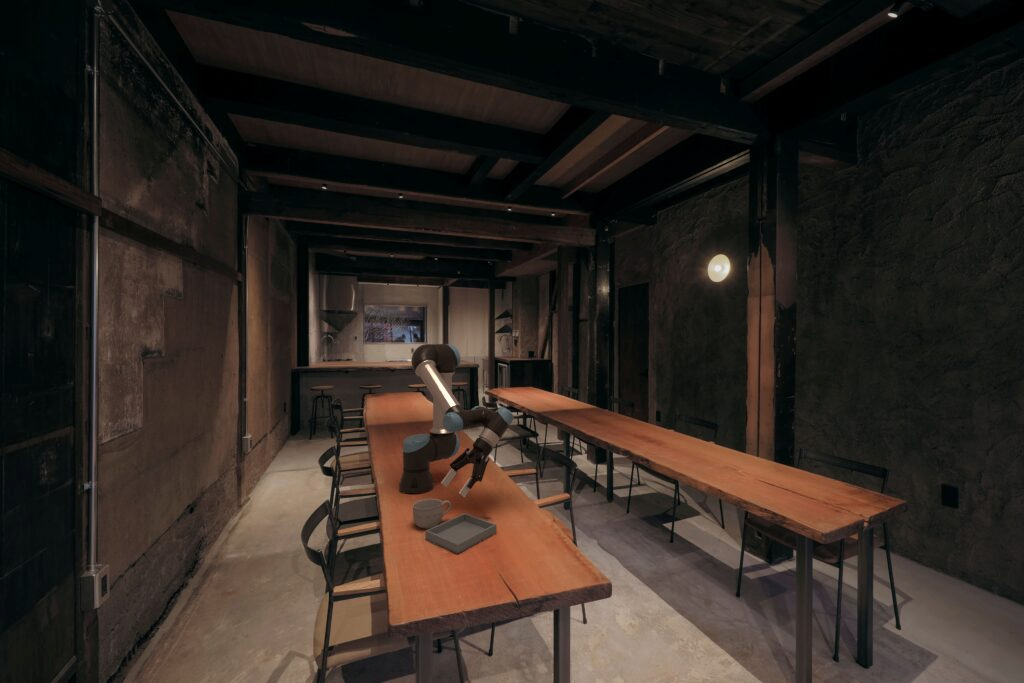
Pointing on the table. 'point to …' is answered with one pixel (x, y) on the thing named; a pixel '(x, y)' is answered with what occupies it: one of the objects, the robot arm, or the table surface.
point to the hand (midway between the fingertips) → (452, 490)
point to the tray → (460, 533)
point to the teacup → (429, 512)
